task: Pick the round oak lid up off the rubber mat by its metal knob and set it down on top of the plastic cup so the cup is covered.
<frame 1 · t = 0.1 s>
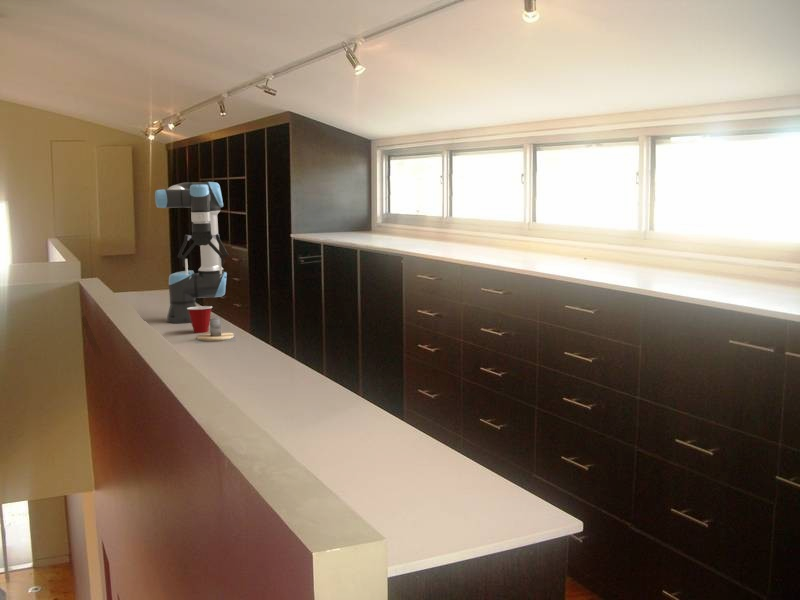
hand: (204, 274, 328), 28 cm above the worktop, fingers open, 13 cm apart
lid: (216, 337, 332), point 1 cm above the worktop, touching mat
mat: (216, 340, 332), on the worktop
plastic cup: (201, 334, 347), on the worktop
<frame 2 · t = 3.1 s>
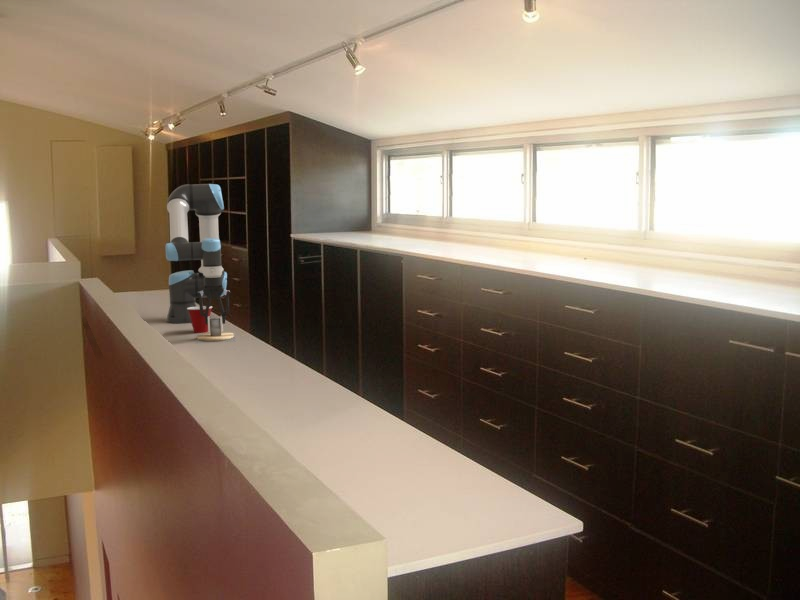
hand: (215, 331, 332), 4 cm above the worktop, fingers closed on lid, 4 cm apart
lid: (216, 337, 332), point 1 cm above the worktop, touching gripper, mat
everything else where it was.
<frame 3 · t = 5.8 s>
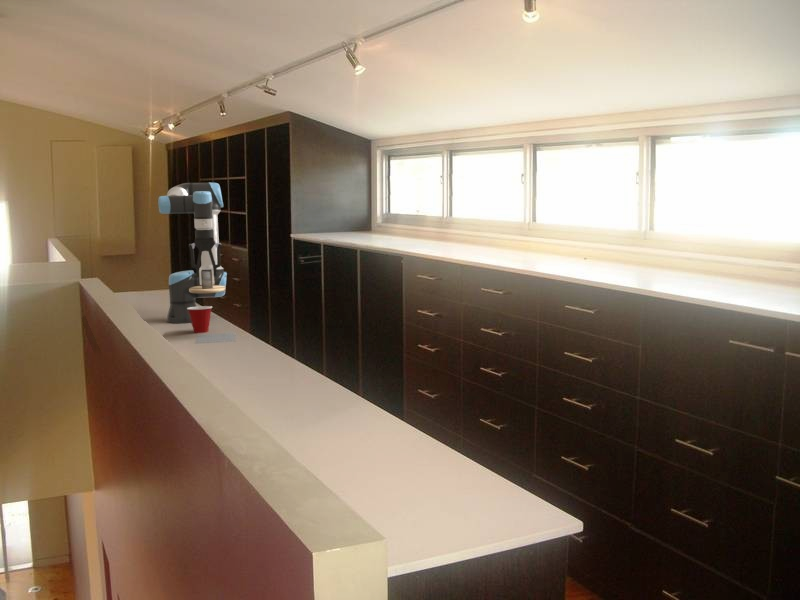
hand: (207, 284, 335), 23 cm above the worktop, fingers closed on lid, 4 cm apart
lid: (207, 290, 335), point 20 cm above the worktop, touching gripper
everything else where it was.
when the fingers open (16 cm above the worktop, at t = 8.5 s): lid drops 1 cm, resting on plastic cup.
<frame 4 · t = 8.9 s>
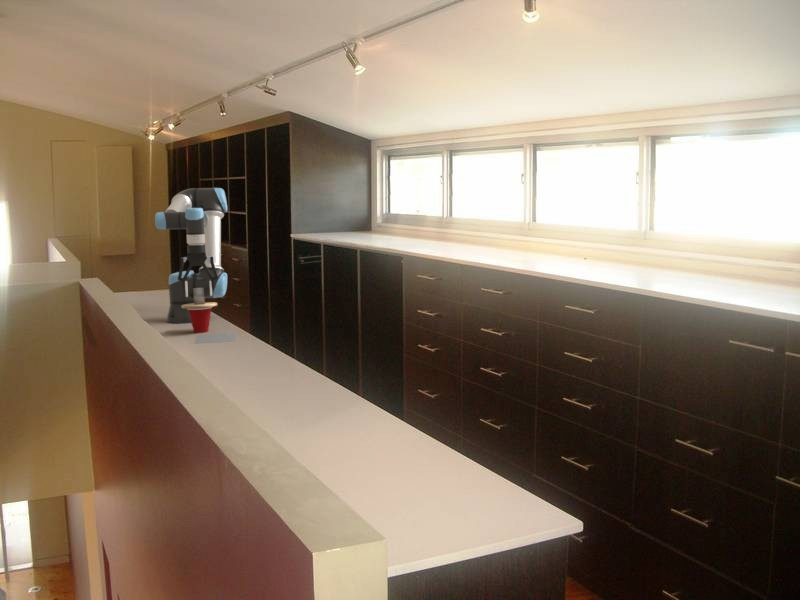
hand: (199, 295, 344), 17 cm above the worktop, fingers open, 9 cm apart
lid: (199, 306, 345), point 12 cm above the worktop, touching plastic cup
plastic cup: (201, 334, 347), on the worktop, touching lid
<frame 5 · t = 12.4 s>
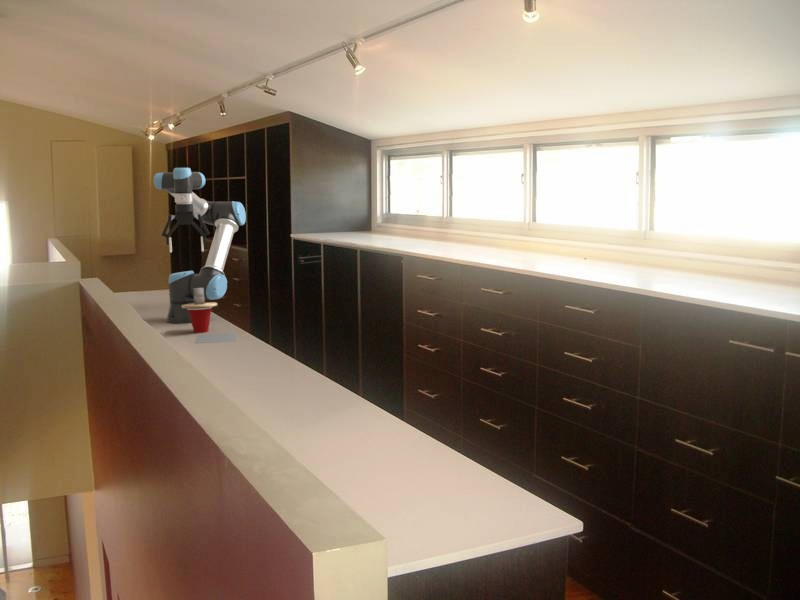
hand: (186, 251, 352), 35 cm above the worktop, fingers open, 13 cm apart
nothing on the worktop moved.
at the end: lid 0.0 cm from the plastic cup (horizontally); lid point 11.9 cm above the worktop; lid touching plastic cup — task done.
